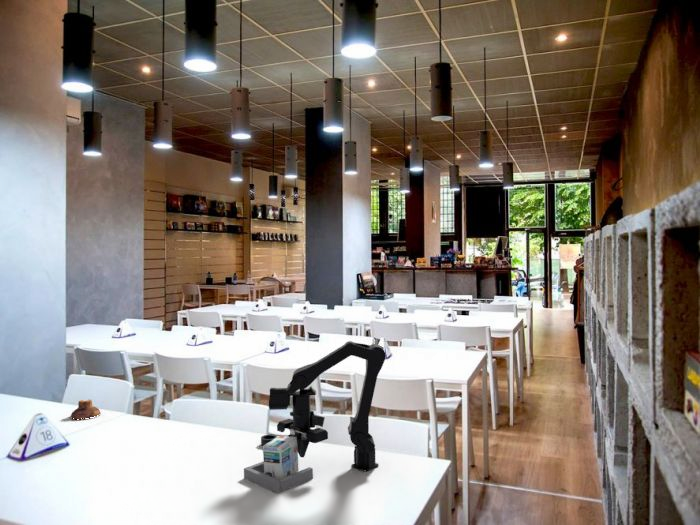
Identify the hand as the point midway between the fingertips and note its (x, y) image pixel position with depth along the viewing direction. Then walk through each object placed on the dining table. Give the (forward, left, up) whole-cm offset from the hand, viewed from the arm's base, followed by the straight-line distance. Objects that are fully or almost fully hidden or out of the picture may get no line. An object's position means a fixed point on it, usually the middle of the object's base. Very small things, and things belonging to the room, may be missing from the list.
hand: (302, 456), depth 172 cm
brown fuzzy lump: (+114, +23, -4) cm, 116 cm away
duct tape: (+26, -7, -4) cm, 27 cm away
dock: (0, +10, -4) cm, 10 cm away
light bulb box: (0, +8, -4) cm, 9 cm away
